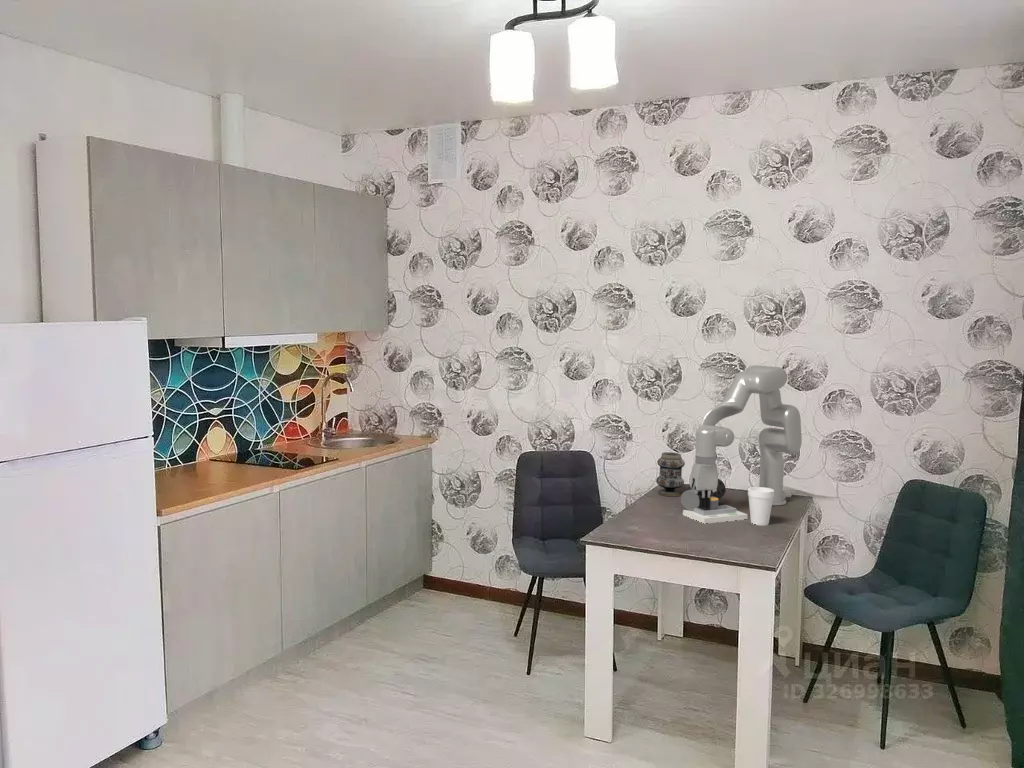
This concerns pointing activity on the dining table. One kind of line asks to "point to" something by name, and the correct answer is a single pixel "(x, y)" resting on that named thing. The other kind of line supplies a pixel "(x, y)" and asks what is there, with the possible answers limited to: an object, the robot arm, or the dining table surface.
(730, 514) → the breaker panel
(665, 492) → the apothecary jar
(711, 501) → the breaker lever
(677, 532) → the dining table surface
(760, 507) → the foam cup
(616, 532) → the dining table surface
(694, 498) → the muzzle brake
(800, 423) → the robot arm
